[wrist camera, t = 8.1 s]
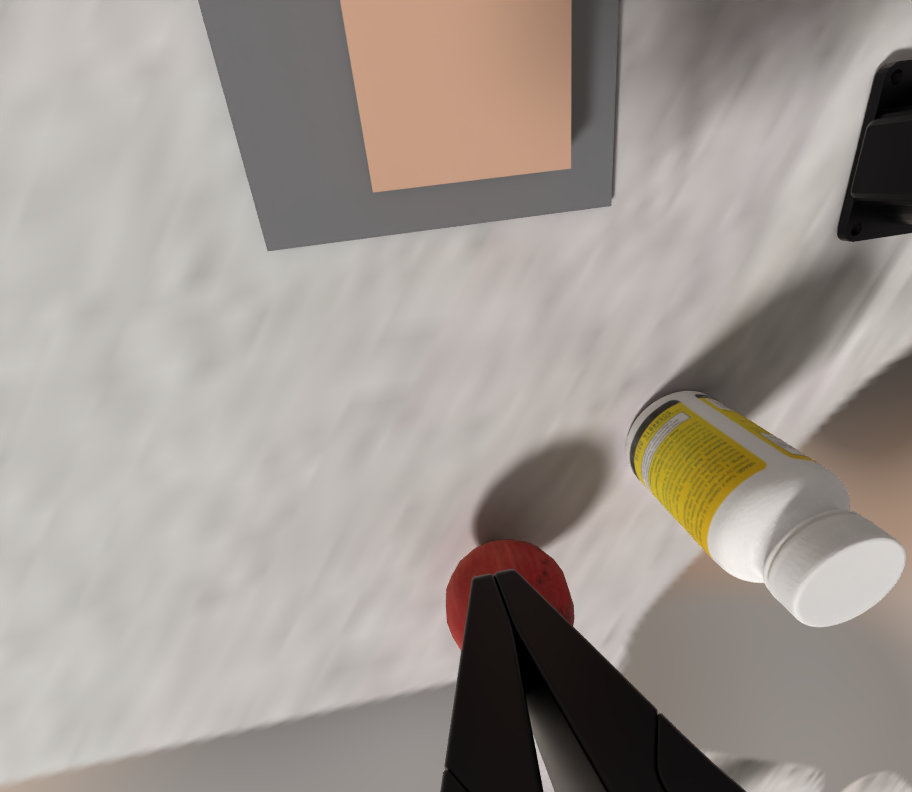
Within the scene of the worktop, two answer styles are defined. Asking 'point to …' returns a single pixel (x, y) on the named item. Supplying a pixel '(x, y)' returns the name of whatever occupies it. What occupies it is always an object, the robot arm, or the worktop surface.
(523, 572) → the onion
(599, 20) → the slate mat
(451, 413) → the worktop surface
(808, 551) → the supplement bottle
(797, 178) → the worktop surface
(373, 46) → the block
